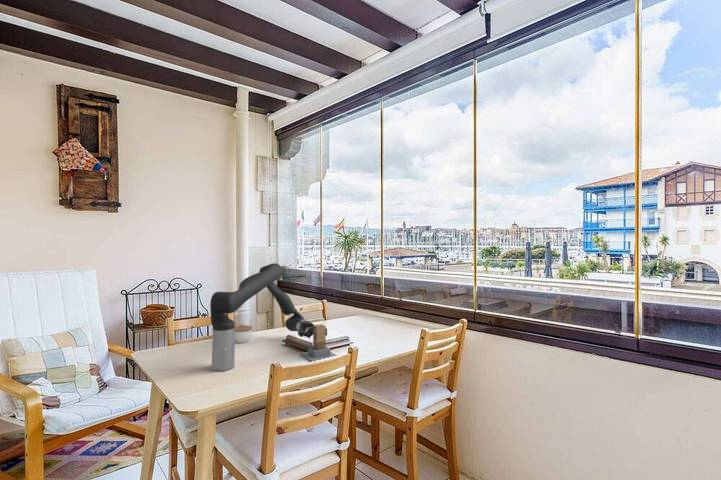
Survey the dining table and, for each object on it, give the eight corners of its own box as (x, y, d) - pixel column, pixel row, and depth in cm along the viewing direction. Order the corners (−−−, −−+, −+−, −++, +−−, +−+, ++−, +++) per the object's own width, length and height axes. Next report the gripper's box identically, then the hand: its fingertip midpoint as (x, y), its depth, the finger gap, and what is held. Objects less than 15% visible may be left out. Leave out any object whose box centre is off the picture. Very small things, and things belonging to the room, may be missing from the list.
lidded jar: (255, 339, 218) (255, 323, 218) (245, 345, 208) (245, 327, 208) (238, 338, 221) (239, 321, 221) (227, 343, 211) (227, 326, 211)
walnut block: (325, 355, 188) (325, 326, 188) (316, 356, 186) (317, 327, 186) (321, 352, 192) (321, 324, 192) (313, 354, 190) (313, 325, 190)
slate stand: (338, 358, 186) (338, 349, 186) (311, 362, 179) (311, 353, 179) (326, 350, 198) (326, 342, 198) (300, 354, 191) (300, 346, 191)
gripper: (292, 322, 201) (304, 328, 187) (318, 319, 208) (331, 325, 194) (292, 336, 201) (304, 344, 187) (318, 333, 208) (331, 340, 194)
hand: (318, 334), depth 190 cm, fingers open, 8 cm apart
